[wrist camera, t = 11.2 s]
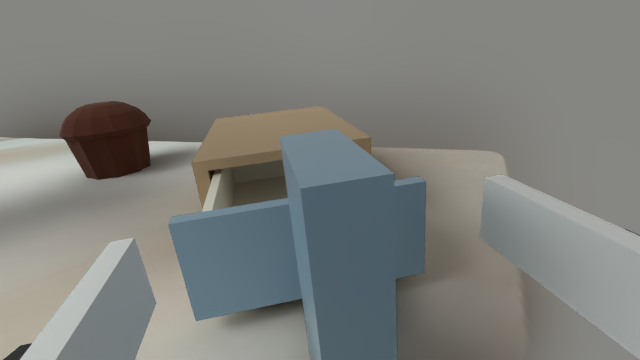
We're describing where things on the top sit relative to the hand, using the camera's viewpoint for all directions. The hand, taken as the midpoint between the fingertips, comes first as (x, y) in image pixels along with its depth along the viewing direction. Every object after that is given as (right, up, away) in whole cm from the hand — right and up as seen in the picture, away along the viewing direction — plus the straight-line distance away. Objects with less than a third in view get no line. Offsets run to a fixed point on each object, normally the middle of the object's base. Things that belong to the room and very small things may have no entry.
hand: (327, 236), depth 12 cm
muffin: (-31, +4, +39) cm, 50 cm away
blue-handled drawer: (-2, -3, +11) cm, 11 cm away
